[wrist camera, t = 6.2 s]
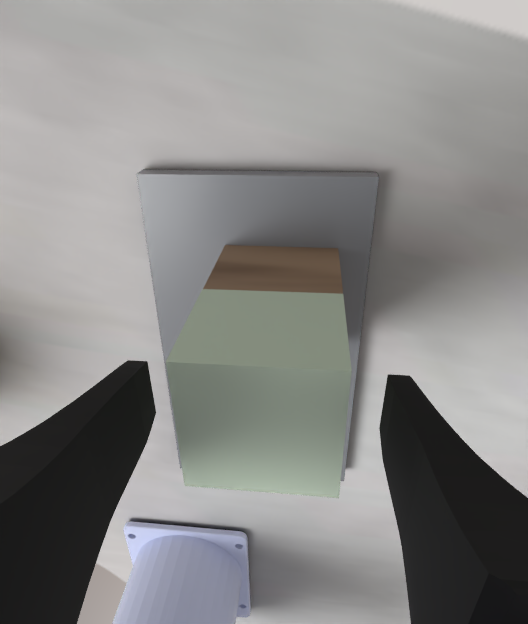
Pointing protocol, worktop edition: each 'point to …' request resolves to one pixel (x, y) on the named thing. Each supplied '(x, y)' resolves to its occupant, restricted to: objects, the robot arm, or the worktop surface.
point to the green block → (262, 391)
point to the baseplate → (253, 235)
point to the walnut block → (277, 269)
